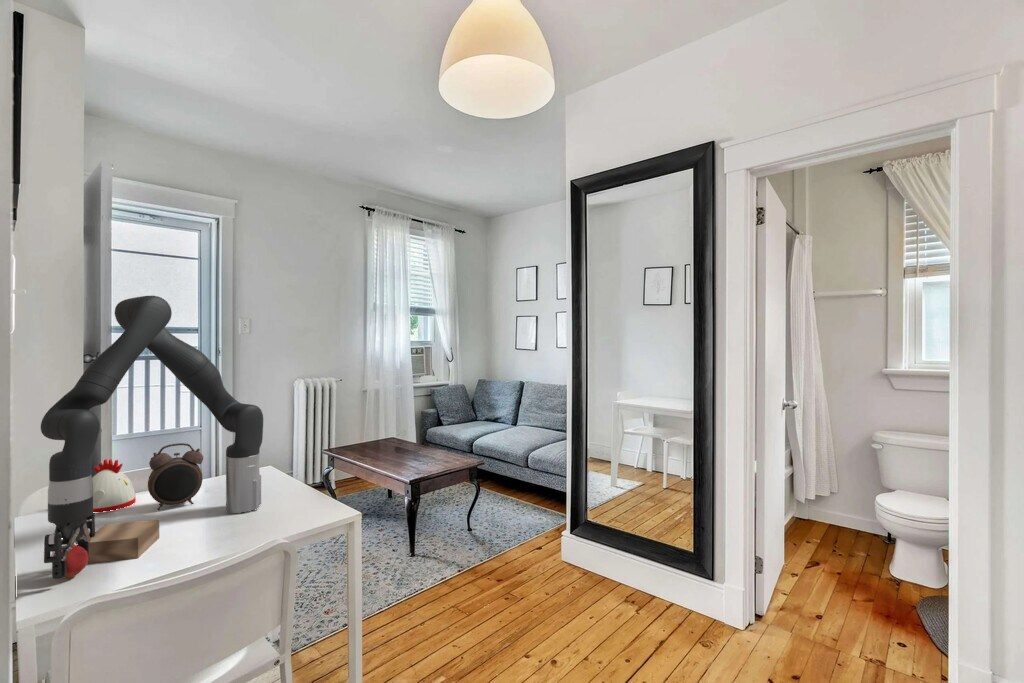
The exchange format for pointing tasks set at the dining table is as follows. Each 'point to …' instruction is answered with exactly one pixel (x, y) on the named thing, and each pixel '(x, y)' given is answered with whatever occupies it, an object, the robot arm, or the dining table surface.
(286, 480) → the dining table surface
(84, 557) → the onion
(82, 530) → the robot arm
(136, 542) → the walnut base
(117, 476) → the kitchen timer
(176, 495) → the alarm clock
